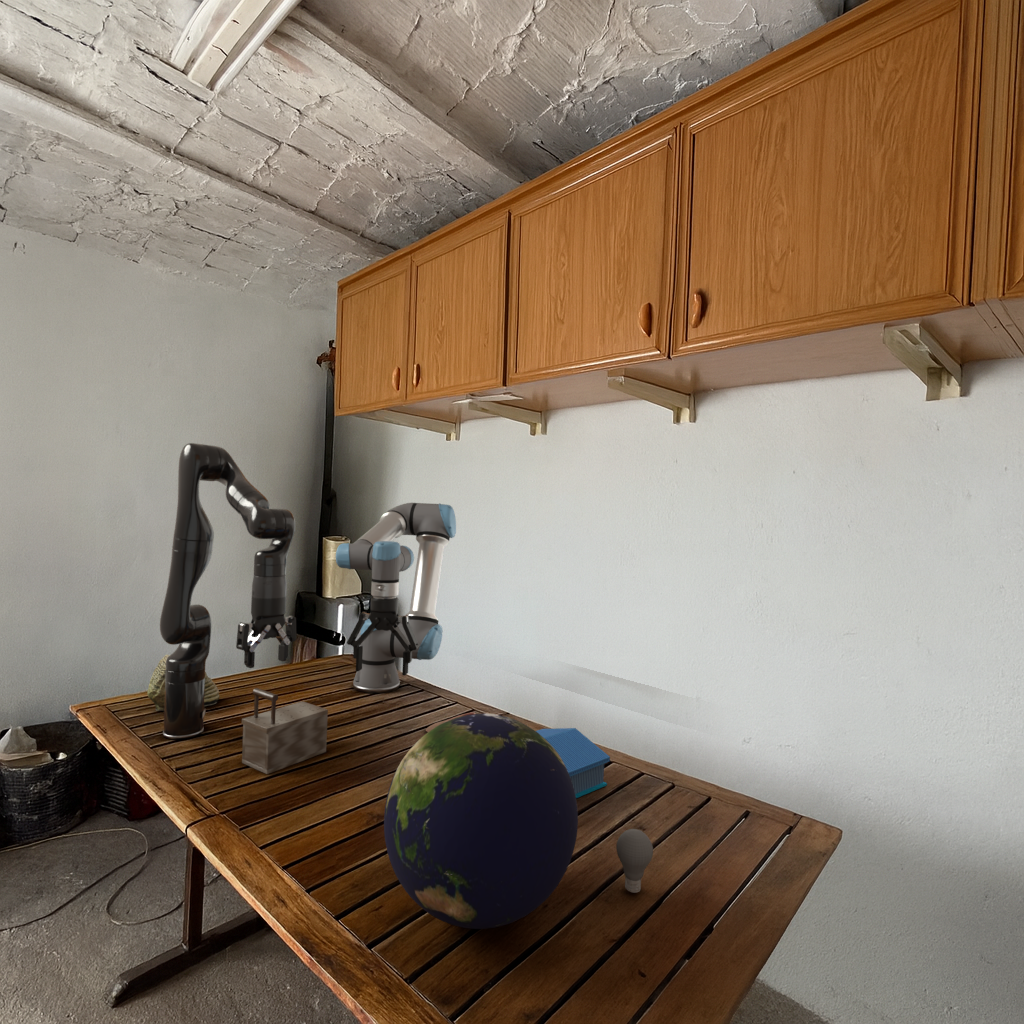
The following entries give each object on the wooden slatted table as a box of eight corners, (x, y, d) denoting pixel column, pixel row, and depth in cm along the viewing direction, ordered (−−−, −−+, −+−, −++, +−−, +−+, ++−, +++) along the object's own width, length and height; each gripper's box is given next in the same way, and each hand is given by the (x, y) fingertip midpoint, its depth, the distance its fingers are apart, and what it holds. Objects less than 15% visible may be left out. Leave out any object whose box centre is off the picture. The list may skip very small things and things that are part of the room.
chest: (267, 774, 143) (268, 733, 143) (241, 763, 149) (243, 723, 148) (326, 751, 157) (327, 714, 157) (301, 742, 162) (302, 705, 162)
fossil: (144, 707, 182) (145, 655, 182) (212, 696, 194) (213, 647, 194) (151, 716, 175) (153, 662, 175) (221, 703, 188) (223, 653, 188)
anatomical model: (422, 719, 171) (435, 706, 182) (421, 734, 171) (435, 720, 182) (469, 725, 168) (480, 711, 179) (469, 740, 168) (479, 725, 179)
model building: (485, 848, 116) (487, 795, 116) (411, 798, 134) (413, 751, 134) (618, 790, 143) (620, 746, 142) (541, 754, 161) (543, 715, 161)
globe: (338, 940, 91) (346, 732, 90) (439, 840, 119) (446, 681, 118) (534, 1012, 80) (544, 775, 79) (594, 883, 107) (603, 707, 107)
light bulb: (610, 879, 108) (613, 822, 108) (644, 879, 109) (647, 822, 109) (619, 902, 102) (622, 840, 102) (655, 901, 103) (658, 840, 103)
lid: (266, 733, 143) (268, 698, 142) (241, 723, 148) (242, 689, 148) (327, 714, 157) (329, 682, 157) (302, 705, 162) (303, 674, 162)
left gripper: (251, 599, 139) (248, 673, 139) (305, 593, 151) (302, 661, 151) (231, 595, 143) (228, 667, 143) (285, 589, 155) (282, 655, 155)
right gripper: (336, 595, 175) (334, 671, 176) (423, 601, 171) (420, 679, 172) (348, 591, 183) (345, 664, 183) (431, 597, 179) (428, 672, 179)
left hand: (266, 663), depth 147 cm, fingers open, 8 cm apart
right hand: (381, 672), depth 178 cm, fingers open, 13 cm apart
